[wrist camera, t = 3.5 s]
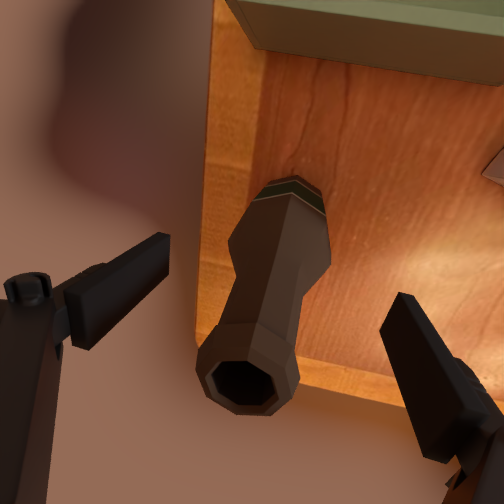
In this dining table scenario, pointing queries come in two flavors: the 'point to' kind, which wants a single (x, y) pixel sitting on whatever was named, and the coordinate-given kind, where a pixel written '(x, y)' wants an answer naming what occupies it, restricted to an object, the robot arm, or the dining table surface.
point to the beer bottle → (266, 299)
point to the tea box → (496, 169)
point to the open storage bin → (385, 34)
